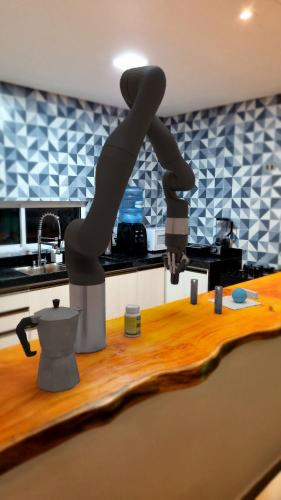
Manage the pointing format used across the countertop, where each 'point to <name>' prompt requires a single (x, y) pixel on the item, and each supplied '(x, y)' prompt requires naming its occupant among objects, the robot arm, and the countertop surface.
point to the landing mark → (235, 303)
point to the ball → (239, 295)
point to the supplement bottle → (132, 320)
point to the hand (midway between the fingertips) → (174, 284)
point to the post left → (194, 291)
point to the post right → (218, 300)
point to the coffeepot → (54, 345)
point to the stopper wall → (251, 294)
